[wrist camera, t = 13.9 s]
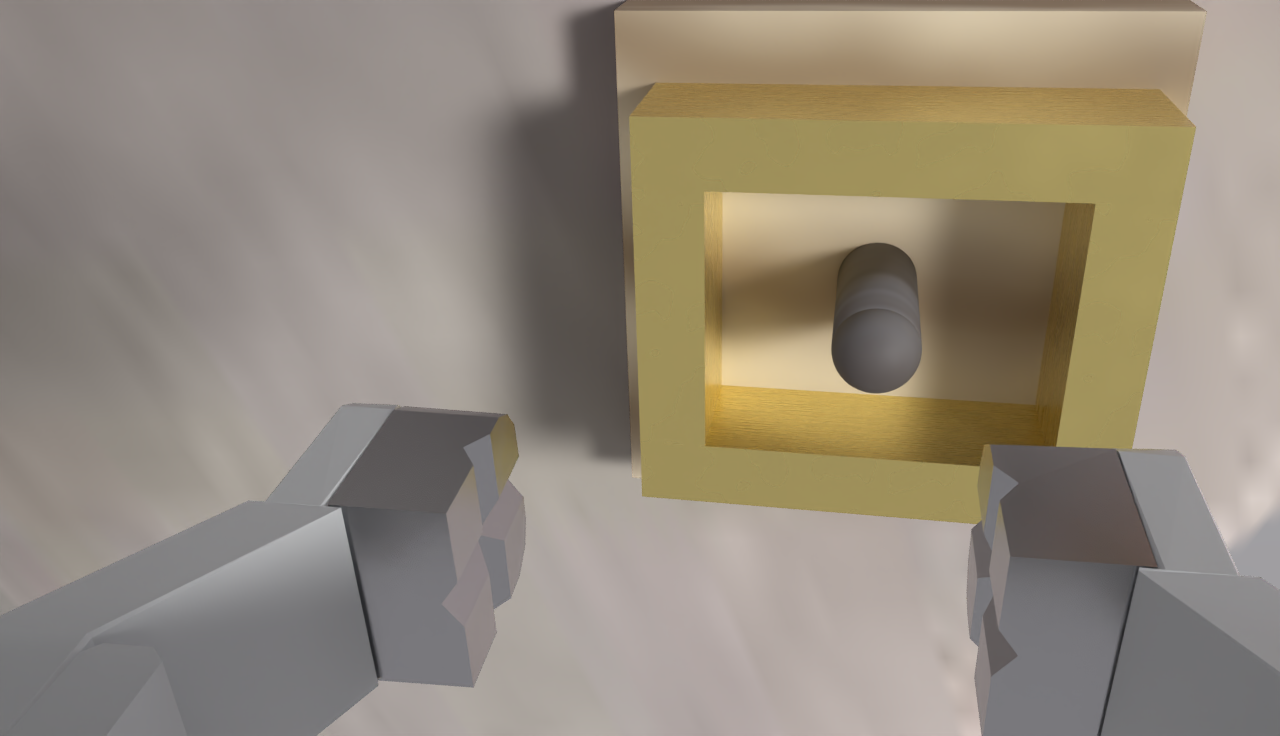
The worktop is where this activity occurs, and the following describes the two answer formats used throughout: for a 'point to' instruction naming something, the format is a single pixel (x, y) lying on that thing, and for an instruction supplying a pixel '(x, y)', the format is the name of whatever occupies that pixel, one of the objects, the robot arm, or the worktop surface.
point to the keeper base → (889, 226)
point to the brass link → (906, 168)
